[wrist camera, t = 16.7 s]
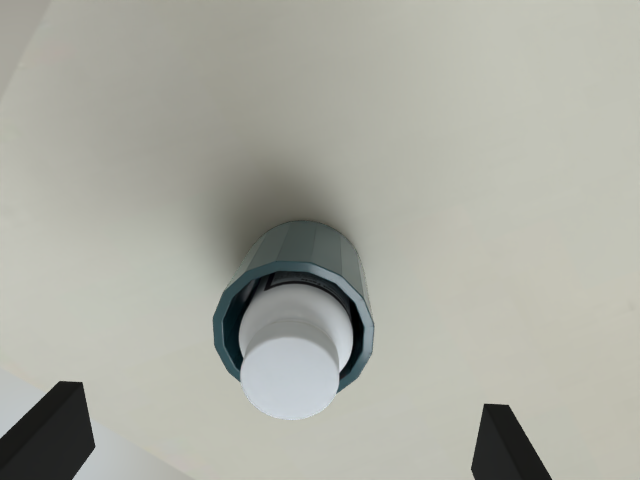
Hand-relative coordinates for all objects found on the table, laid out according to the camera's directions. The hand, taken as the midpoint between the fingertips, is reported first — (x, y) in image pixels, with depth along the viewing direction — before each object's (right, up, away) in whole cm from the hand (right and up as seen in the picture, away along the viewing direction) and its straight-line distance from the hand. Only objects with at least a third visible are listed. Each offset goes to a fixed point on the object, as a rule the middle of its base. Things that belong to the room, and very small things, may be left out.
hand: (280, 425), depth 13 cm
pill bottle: (0, +4, +12) cm, 13 cm away
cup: (0, +4, +12) cm, 13 cm away
